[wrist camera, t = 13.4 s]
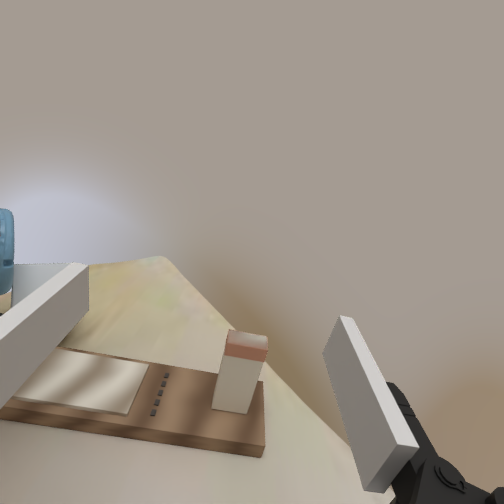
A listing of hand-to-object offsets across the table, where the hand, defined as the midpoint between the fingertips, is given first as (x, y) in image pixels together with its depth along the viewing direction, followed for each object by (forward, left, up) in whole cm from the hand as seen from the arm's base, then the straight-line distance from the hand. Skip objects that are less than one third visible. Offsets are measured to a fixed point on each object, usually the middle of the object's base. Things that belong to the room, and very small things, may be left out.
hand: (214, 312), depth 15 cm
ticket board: (-7, +16, -30) cm, 34 cm away
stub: (+5, +16, -27) cm, 31 cm away
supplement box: (-30, +29, -27) cm, 50 cm away
